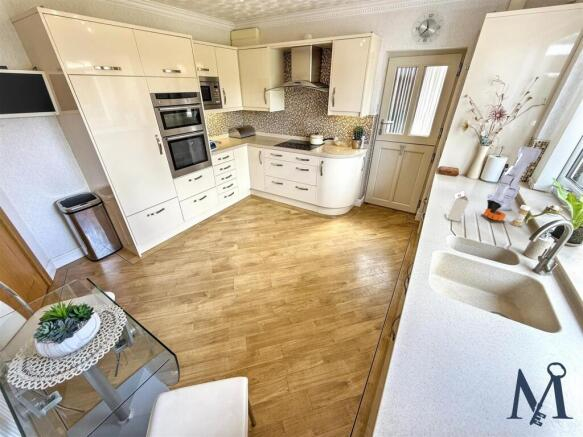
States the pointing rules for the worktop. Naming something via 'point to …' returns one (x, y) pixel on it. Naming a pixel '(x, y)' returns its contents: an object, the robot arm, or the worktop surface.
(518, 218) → the sprinkles bottle
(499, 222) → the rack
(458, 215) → the milk carton
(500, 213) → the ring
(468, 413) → the worktop surface
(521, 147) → the robot arm
